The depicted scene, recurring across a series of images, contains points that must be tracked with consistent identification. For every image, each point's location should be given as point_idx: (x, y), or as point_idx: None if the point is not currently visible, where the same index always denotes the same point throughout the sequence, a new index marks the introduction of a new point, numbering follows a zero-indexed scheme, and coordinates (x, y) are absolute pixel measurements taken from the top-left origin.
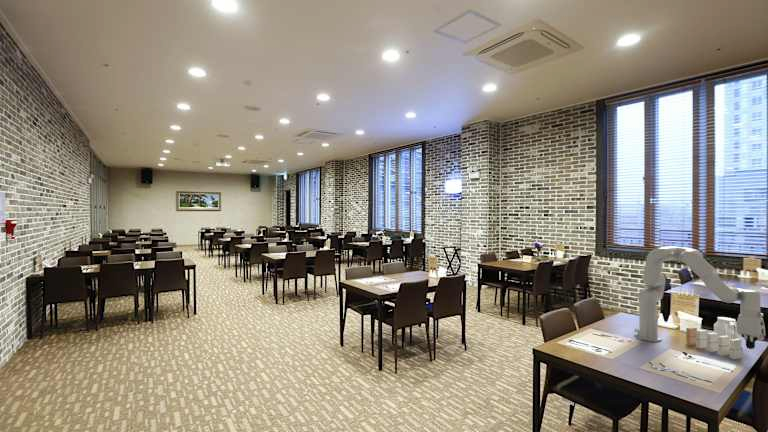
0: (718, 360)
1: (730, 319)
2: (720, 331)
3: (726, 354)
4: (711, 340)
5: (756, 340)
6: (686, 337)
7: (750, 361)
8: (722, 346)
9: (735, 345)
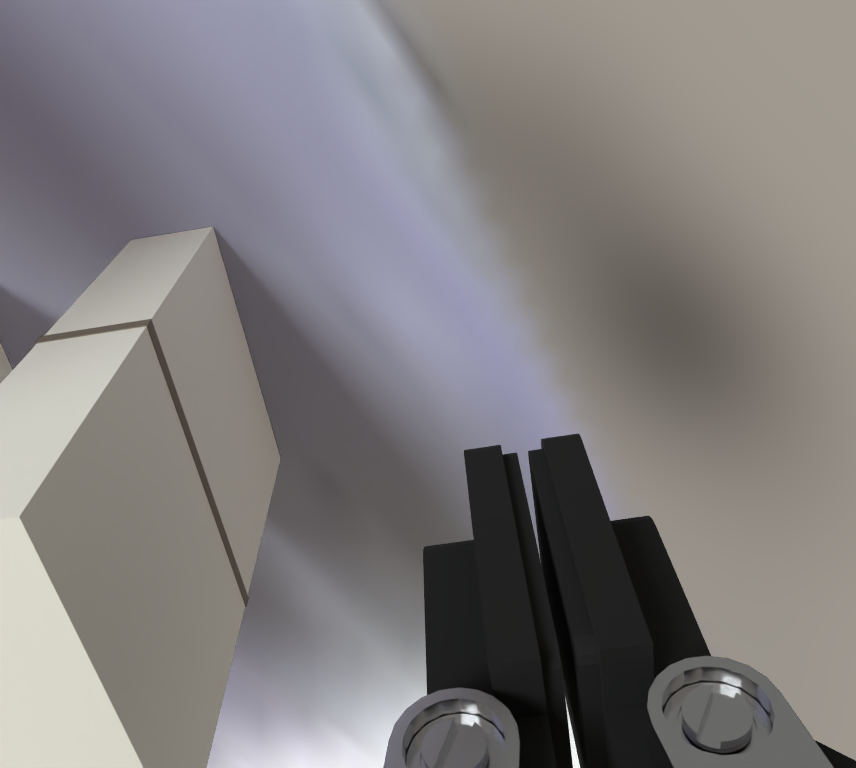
0: (320, 731)
1: None
2: None
3: (7, 366)
4: None
5: (835, 755)
6: None
7: (435, 248)
8: None
9: (200, 643)
